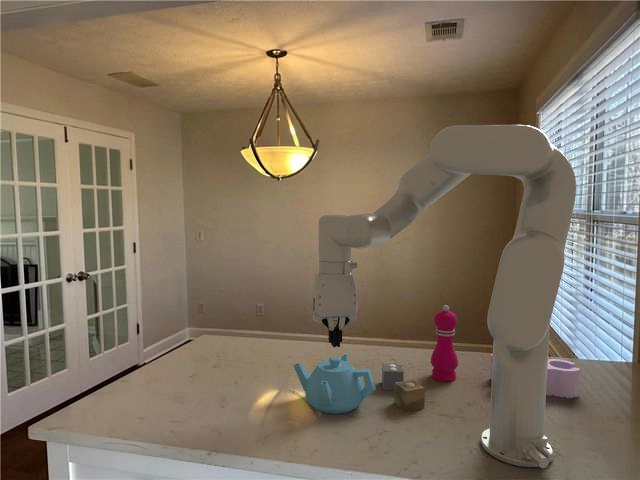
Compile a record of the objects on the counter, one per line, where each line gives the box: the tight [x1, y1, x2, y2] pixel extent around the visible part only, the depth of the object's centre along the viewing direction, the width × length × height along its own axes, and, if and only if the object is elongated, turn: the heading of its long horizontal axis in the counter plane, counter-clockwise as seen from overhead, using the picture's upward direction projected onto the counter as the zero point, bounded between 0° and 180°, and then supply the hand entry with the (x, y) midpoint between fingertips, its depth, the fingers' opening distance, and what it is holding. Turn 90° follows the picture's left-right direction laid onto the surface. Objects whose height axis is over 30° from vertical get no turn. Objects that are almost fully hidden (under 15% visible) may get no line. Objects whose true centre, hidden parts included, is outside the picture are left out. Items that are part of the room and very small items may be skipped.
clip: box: [489, 353, 581, 399], centre depth 111 cm, size 20×12×7 cm, turn 76°
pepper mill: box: [430, 304, 459, 382], centre depth 118 cm, size 7×7×20 cm
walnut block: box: [393, 379, 426, 413], centre depth 101 cm, size 5×5×5 cm
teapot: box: [293, 353, 377, 415], centre depth 102 cm, size 15×15×11 cm
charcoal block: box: [381, 363, 405, 391], centre depth 112 cm, size 5×5×5 cm
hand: (335, 345), depth 102 cm, fingers closed
